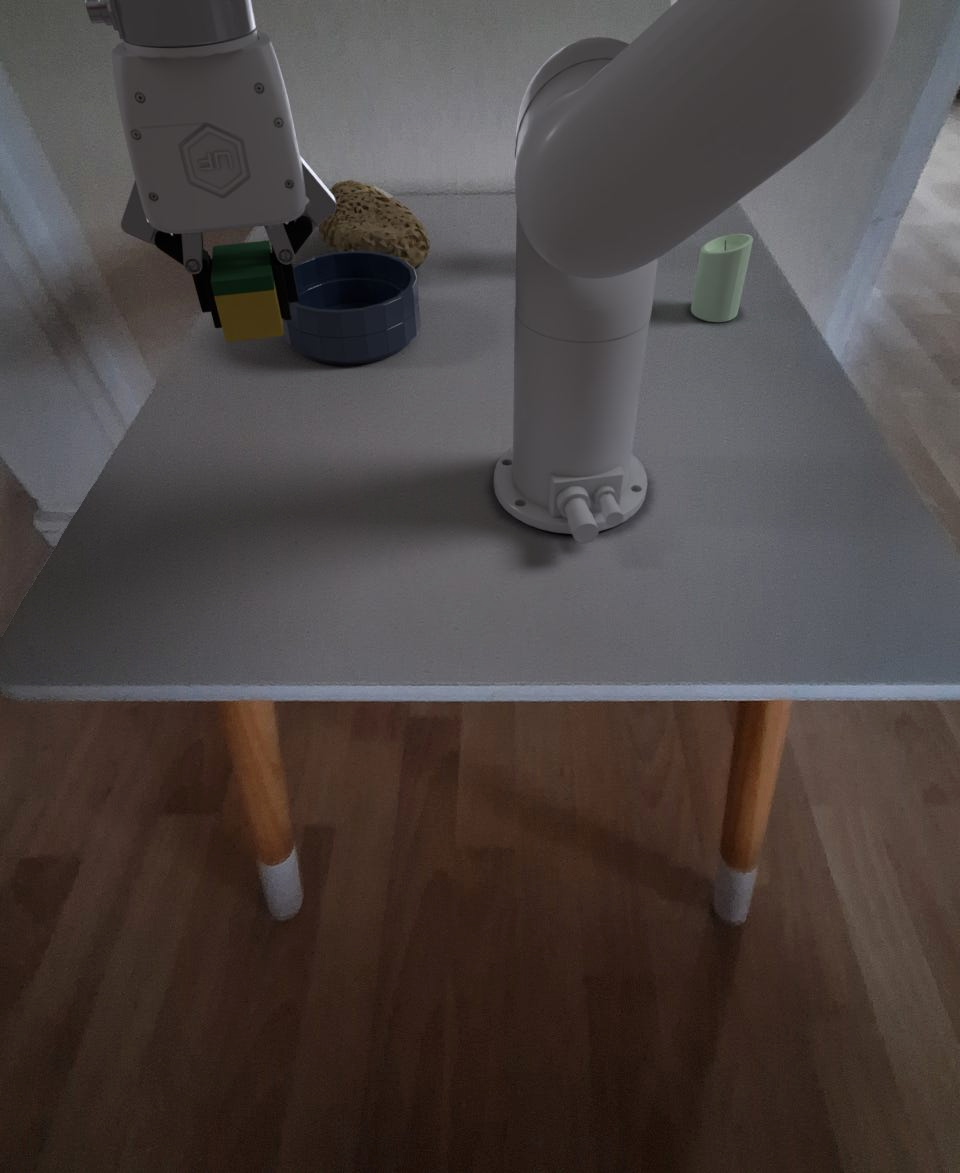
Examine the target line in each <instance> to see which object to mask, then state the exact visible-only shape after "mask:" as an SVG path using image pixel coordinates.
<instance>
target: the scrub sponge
mask: <svg viewBox="0 0 960 1173" xmlns="http://www.w3.org/2000/svg"><path fill="white" fill-rule="evenodd" d="M211 252H212V253H211V259H212V269H211V285H212V289H213V293H214V296H215V301H216V305H217V309H218V313H219V317H220V321H221V325H222V328H221V329H222V332H223V336H224V340H225V342H226V343H234V342H243V341H251V340H259V339H260V340H261V339H267V338H277V337H284V332H283V319H282V318H281V313H280V308H279V303H278V298H277V293H276V288H275V283H274V278H273V272H272V265H271V253H272V247H271V242H270V240H269V239H268V240H259V241H250V242H239V243H232V244H231V243H230V244H220V245H212V251H211Z"/></svg>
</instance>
